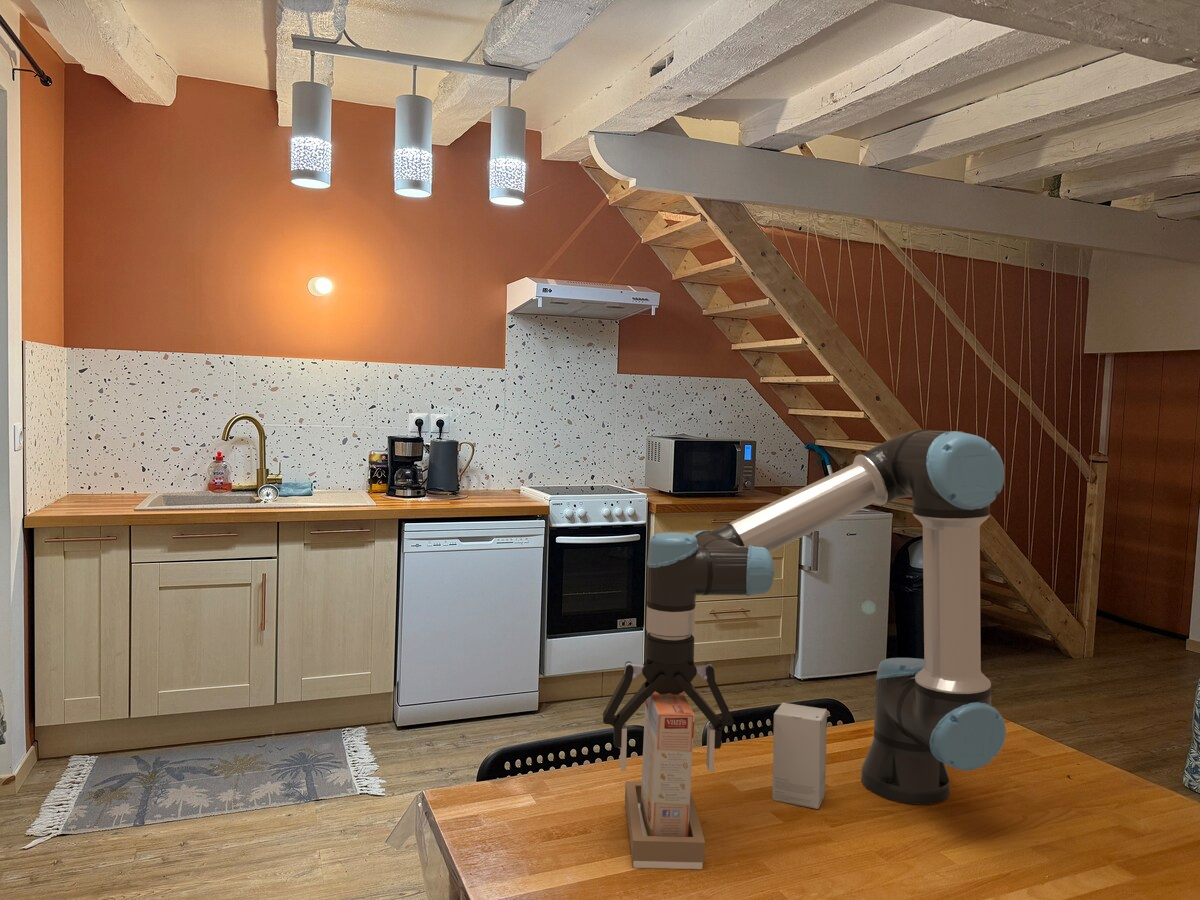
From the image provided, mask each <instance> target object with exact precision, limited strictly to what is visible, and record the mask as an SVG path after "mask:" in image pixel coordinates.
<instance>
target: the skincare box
mask: <svg viewBox="0 0 1200 900" xmlns="http://www.w3.org/2000/svg"><path fill="white" fill-rule="evenodd" d="M827 719H828V710H827V708H821V707H820V708H819V707H814V706H809V705H808V706H807V705H800V704H794V703H789V702H781V704H780V705H779V706H778V707H777V709H776V710H775V712H774V713H773V737H772V738H773V742H772V743H773V744H772V794H771V796H772V797H771V799H772V801H777V802H781V803H785V804H791V805H796V806H800V807H807V808H811V809H816V810H818V809H819V808H820V806H821V804H822V803H823V800H824V798H825V795H826V773H827V772H826V769H827V730H828V729H827V728H828V727H827V726H828V722H827V721H828V720H827Z"/></svg>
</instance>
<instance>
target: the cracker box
mask: <svg viewBox="0 0 1200 900" xmlns="http://www.w3.org/2000/svg"><path fill="white" fill-rule="evenodd" d="M691 707H692V706H691V705H690V704H689V701H688V700H687V698H686V696H685V694H684V691H683V692H682V693H679V695H674V694H670V693H668V694H659V693H657V692H654V693H653V694H652V695H651V696H650V697H649V698H647V699H646V700H645V702H644V724H643V725H644V728H643V741H642V742H643V744H642V745H643V746H642V765H641V780H640V782H641V800H640V809H641V812H642V816H643V820H644V823H645V827H646V831H647V835H648V836H665V837H688V827H689V807H690V791H691V789H692V787H691V785H692V784H691V783H692V771H693V770H692V768H693V766H692V765H693V749H694V747H693V746H694V733H695V730H694V729H695V713H694V711H693V710H692V709H693V708H691Z"/></svg>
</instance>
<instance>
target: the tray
mask: <svg viewBox="0 0 1200 900" xmlns="http://www.w3.org/2000/svg"><path fill="white" fill-rule="evenodd" d="M624 788H625V789H624V791H625V792H624V802H625V803H624V804H625V811H626V819H627V827H628V828H627V829H628V834H629V835H628V837H629V842H630V843H629V844H630V852H631V860H632V863H633V868H634V869H635V868H636V869H638V868H639V869H675V870H677V869H678V870H679V869H682V870H691V869H692V870H703V863H705V856H706V841H705V837H704V833H703V830H702V826H701V824H700V820H699V817H698V813H697V809H696V805H695V802H694V799H693V796H692V793H691V790H690V807H689V827H688V837H665V836H648V835H647V831H646V827H645V823H644V820H643V816H642V812H641V809H640V800H641V781H635V780H634V781H630V780H629V781H627V780H626V781H625V787H624Z"/></svg>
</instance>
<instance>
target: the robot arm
mask: <svg viewBox="0 0 1200 900" xmlns="http://www.w3.org/2000/svg"><path fill="white" fill-rule="evenodd" d="M1004 466H1005V465H1004V463H1003V460H1002V457H1001V455H1000V453H999V452H998V450H997V449H996V448H995V447H994V446H993V445H992V444H991V443H990V442H989V441H988V440H987V439H985V438H984V437H981V436H979V435H976V434H971V433H967V432H964V431H956V430H954V431H952V430H951V431H950V430H931V429H915V430H911V431H908V432H904V433H901V434H898V435H896V436H895V437H893V438H890V439H888V440H886V441H884V442H882V443H880V444H878V445H876V446H873V447H872V448H870V449H868V450H866V451H864V452H862V453H860V454H857V455H855V457H854V460H853V462H852V464H850V465H848V466H846V467H844V468H842V469H839V470H838V471H836V472H834V473H832V474H829V475H827V476H825V477H823V478H821V479H818V480H817V481H814V482H812V483H810V484H808V485H806V486H804V487H802V488H800V489H798V490H796V491H794V492H792V493H789V494H787V495H785V496H783V497H781V498H779V499H777V500H775V501H772V502H771V503H768V504H767V505H763V506H762V507H760V508H758V509H756V510H753V511H752V512H750V513H747V514H745V515H743V516H741V517H739V518H737V519H734V520H733V521H730V522H729V523H726V524H723V525H721V526H719V527H717V528H715V529H713V530H709V529H708V530H699V531H698V530H697V531H696V532H693V533H692V534H690V533H686V532H675V531H674V532H659V533H658V532H657V533H656V534H653V535H652V536H651V537H650V539H649V543H648V552H647V562H646V566H647V582H646V583H647V585H646V589H647V590H646V591H647V592H646V593H647V594H646V598H647V599H646V615H645V616H646V620H645V622H646V623H645V630H646V631H647V634H646V635H645V654H644V657H645V658H644V662H643V663H642V664H636V663H635V664H634V663H633V662H632V661H629V660H628V661H626V662H625V663H624V668H623V675H622V677H621V679H620V681H619V682H618V685H617V686H616V688H615V690H614V692H613V694H612V696H611V697H610V700H609V701H608V704H607V705H606V707H605V710H603V713H602V722H603V724H604V725H611V726H612V727H613V745H614V748H619V749H620V751H619V752H620V757H619V758H620V760H619V761H620V763H619V765H620V766H619V767H620V771H621V772H626V771H627V743H628V741H627V740H628V736H627V735H628V729H627V728H628V727H627V722H628V720H630V719H631V717H632V716H633V715H634V714H635V713H636V711H638V710H639V709H640V707H641V706H643V704H645V700H646V699H647V698H649V697H650V696H651V695H652V694H653V693H654V692H657V693H659V694H668V693H670V694H674V695H679V693H682V692H683V693H685V694H686V695H687V696H688V697H689V698H690V699H691V701H692V702H693V703H694V704H695V705H696V707H697V708H698V709H699V710H700V711H701V713H702V714H703V715H704V716H705V718H706V719H707V720H708V722H710V723H707V726H706V727H707V728H706V729H707V731H706V733H707V735H706V761H705V765H706V768H707V771H708V772H710V773H711V772H715V749H717V750H719V749H721V747H722V735H723V734H722V731H723V730H724V728H725V727H727V726H729V727H730V726H733V725H734V723H735V720H734V718H733V716H732V714H731V712H730V709H729V707H728V705H727V702H726V701H725V699H724V697H723V695H722V693H721V690H720V688H719V686H718V684H717V682H716V676H715V669H714V666H713V664H712V663H711V662H709V661H708V662H707V661H706V662H705V663H704V664H703V665H702V664H701V665H695V636H694V635H693V634H694V633H695V631H696V599H697V596H747V597H750V596H754V595H764V594H765V595H766V593H768V592H769V591H770V590H771V588H772V586H773V583H774V579H775V578H774V577H775V566H774V565H775V564H774V560H773V557H772V555H771V552H774V551H776V550H778V549H780V548H782V547H784V546H786V545H788V544H790V543H792V542H794V541H796V540H799V539H800V538H803V537H805V536H807V535H809V534H812V533H813V532H815V531H817V530H819V529H821V528H823V527H826V526H828V525H830V524H832V523H834V522H837V521H838V520H840V519H842V518H845V517H846V516H849V515H851V514H853V513H855V512H857V511H859V510H862V509H864V508H865V507H867V506H870V505H872V504H875V505H878V506H883V505H885V504H888V503H890V502H891V501H894V500H898V499H903V498H912V516H913V517H914V518H915V519H916V520H918V521H919V523H920V524H921V525H922V550H923V551H922V563H923V565H922V567H923V569H922V572H923V573H922V575H923V577H922V579H923V582H922V583H923V584H922V585H923V643H924V644H923V645H924V646H923V647H924V648H923V649H924V652H923V653H924V654H923V655H924V656H923V657H924V658H916V657H915V658H913V657H890V658H885V659H883V660H881V661H880V662H879V664H878V666H877V671H876V676H875V681H876V684H875V685H876V686H875V704H874V721H873V723H874V725H873V727H874V728H873V739H872V742H871V745H870V746H869V750H868V752H867V754H866V757H865V758H864V760H863V764H862V766H861V776H860V777H861V784H862V785H864V786H865V788H867V789H868V790H869V791H871V792H872V793H874V794H876V795H878V796H880V797H883V798H886V799H888V800H891V801H897V802H900V803H905V804H913V805H933V804H938V803H941V802H945V801H946V800H947V799H948V798H949V797H950V794H951V793H950V792H951V781H950V779H951V778H950V776H949V772H948V769H947V766H949V767H950V768H953V769H954V770H955V769H956V770H958V771H973V770H974V771H975V770H977V769H980V768H983V767H985V766H986V765H988V764H989V763H991V762H992V760H993V758H994V757H997V756H998V755H999V753H1000V751H1002V748H1003V747H1004V744H1005V742H1006V736H1007V727H1006V722H1005V719H1004V718H1003V716H1002V715H1001V713H1000V712H999V710H997V708H996V707H995V706H992V682H991V680H990V679H989V678H988V677H987V676H986V675H985V674H984V673H983V672H982V670H981V669H982V667H981V666H982V665H981V664H982V663H981V661H982V660H981V653H982V652H981V651H982V650H981V552H980V551H981V544H980V539H981V537H980V535H981V533H980V532H981V531H980V529H981V528H980V527H981V525H982V524H983V523H984V522H985V521H986V520H988V518H989V517H991V516H990V514H991V511H990V510H991V504H992V503H993V502H994V501H995V500H996V499H997V496H998V495H999V494H1001V491H1002V490H1003V486H1004V485H1005V474H1006V473H1005V467H1004ZM640 674H642V676H643V677H644V678H645V681H644V682H643V683H642V684H641V687H640V688H639V689H638V690H637V692H635V694H634V695H633V696H631V698H630V699H629V700H628V701H627V703H625V704H624V706H623V707H622V708H621V709H620V710H619V711H618V709H619V708H620V705H621V703H622V702H623V700H624V698H625V697H626V696H625V695H626V694H627V692H628V690H629V688H630V687H631V684H632V681H633V680H636V678H637V677H638V676H639V675H640ZM697 675H699V676H700V678H701V679H702V680H704V681H706V683H707V684H708V685H707V686H708V688H709V689H710V691H711V693H712V696H713V698H714V701H715V702H716V705H717V706H718V708H719V710H720V712H721V715H720V716H718V715H717V713H715V711H714V710H713V709H712V707H711V706H710V705H709V704H708V702H707V701H706V700H705V699H704V697H702V695H701V694H700V693H699V691H698V690H697V689H696V688H695V686H694V685H693V684H692V683H691V682H692V681H693V680H694V679H695V678H696V676H697ZM617 711H618V712H617ZM616 712H617V714H616ZM615 714H616V715H615Z"/></svg>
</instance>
